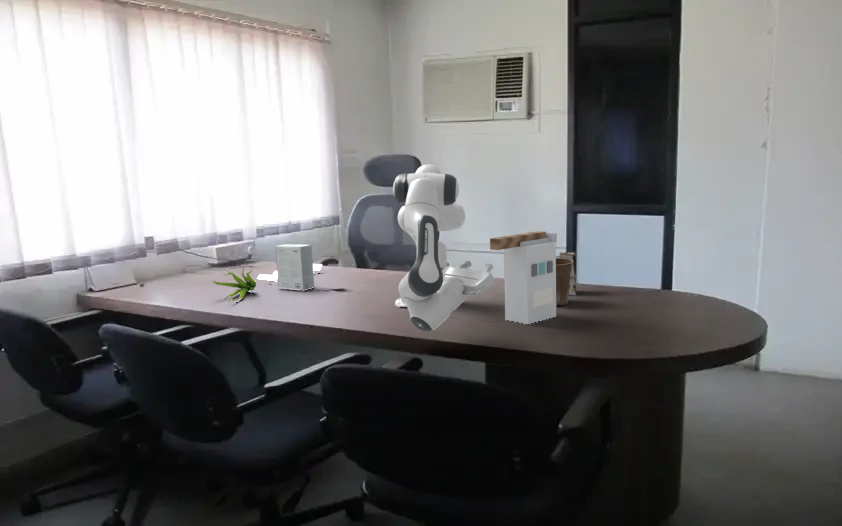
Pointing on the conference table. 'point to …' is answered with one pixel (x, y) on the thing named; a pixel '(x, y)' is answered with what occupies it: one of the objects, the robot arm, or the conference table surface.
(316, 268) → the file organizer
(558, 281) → the plant pot
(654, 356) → the conference table surface
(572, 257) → the coffee box
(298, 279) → the hard drive box
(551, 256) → the switch console stand
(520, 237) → the lever bar
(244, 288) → the decorative plant
